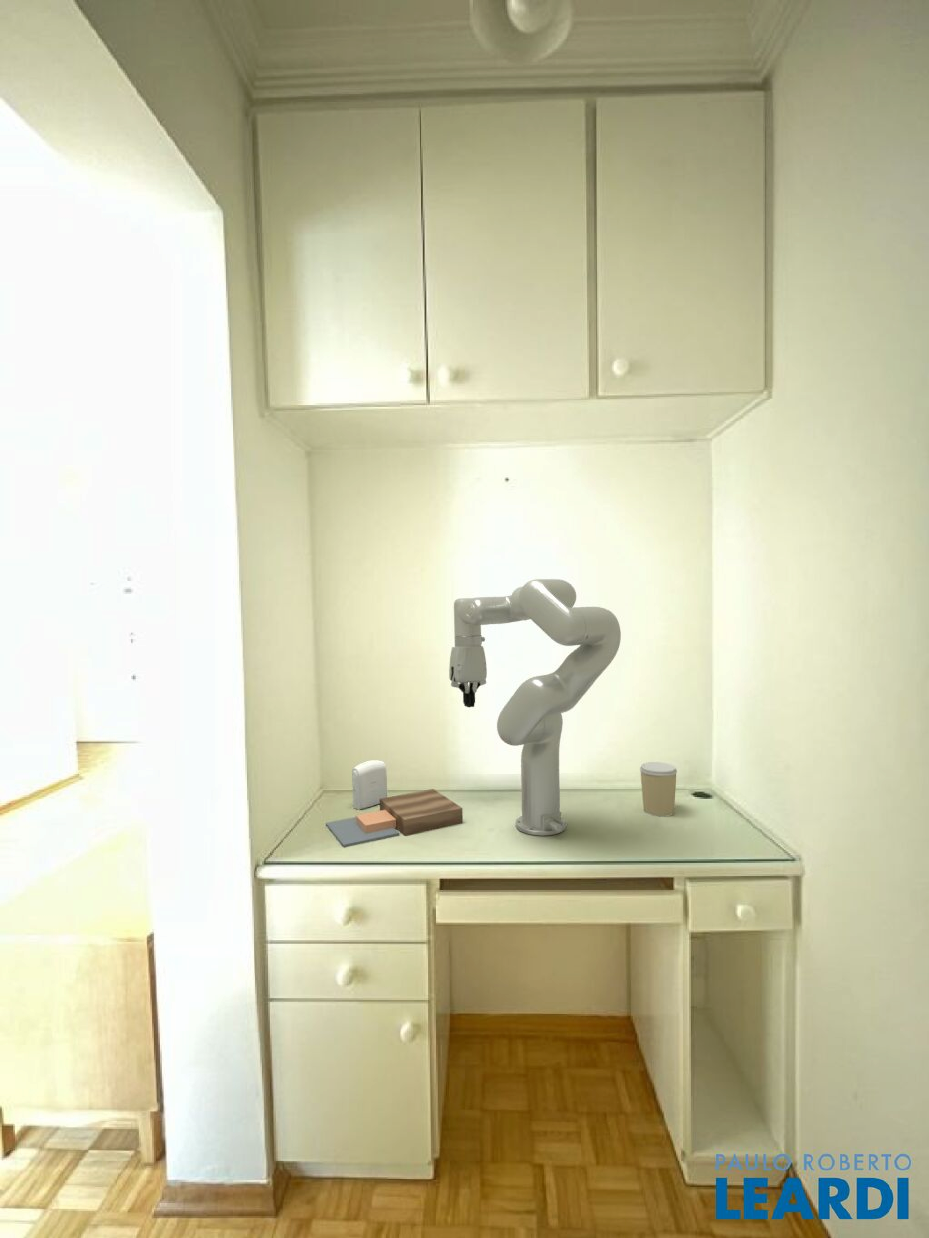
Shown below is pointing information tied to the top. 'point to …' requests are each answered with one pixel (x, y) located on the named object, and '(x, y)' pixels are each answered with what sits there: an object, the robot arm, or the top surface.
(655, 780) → the coffee cup
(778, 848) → the top surface
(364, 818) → the tile
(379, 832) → the mat
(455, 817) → the deck
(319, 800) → the top surface
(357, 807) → the photo printer
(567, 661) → the robot arm
